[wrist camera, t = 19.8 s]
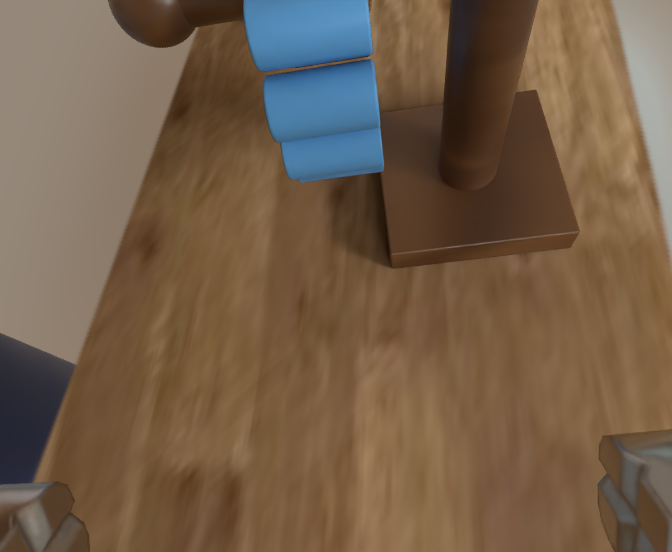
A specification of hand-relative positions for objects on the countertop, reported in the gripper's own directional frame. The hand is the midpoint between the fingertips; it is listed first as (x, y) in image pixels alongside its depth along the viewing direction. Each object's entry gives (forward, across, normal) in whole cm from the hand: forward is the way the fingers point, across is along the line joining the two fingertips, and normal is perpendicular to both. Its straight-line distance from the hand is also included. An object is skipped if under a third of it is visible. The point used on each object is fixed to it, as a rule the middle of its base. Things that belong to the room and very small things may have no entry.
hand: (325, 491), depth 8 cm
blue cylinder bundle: (+15, 0, -4) cm, 16 cm away
